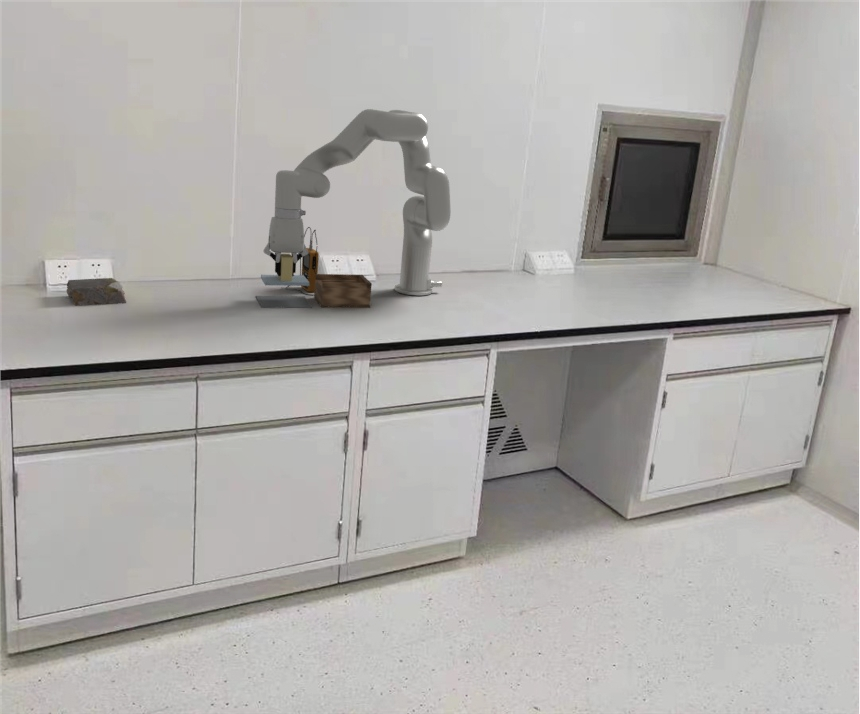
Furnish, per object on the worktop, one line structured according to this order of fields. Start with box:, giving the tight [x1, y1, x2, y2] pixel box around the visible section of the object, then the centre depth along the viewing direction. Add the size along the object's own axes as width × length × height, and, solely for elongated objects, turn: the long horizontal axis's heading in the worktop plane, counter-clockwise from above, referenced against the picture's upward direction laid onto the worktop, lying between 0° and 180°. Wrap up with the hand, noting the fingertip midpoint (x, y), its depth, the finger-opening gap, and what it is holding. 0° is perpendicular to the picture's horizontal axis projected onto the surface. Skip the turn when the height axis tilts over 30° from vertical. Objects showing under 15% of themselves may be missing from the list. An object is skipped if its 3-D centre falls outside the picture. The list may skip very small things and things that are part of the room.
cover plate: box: [260, 253, 309, 287], centre depth 257 cm, size 13×9×8 cm
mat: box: [255, 295, 313, 309], centre depth 260 cm, size 15×12×1 cm
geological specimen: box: [66, 277, 127, 307], centre depth 243 cm, size 11×6×15 cm
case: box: [313, 273, 373, 309], centre depth 265 cm, size 15×11×8 cm
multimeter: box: [280, 226, 320, 296], centre depth 273 cm, size 15×10×20 cm
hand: (285, 274), depth 257 cm, fingers closed on cover plate, 3 cm apart
